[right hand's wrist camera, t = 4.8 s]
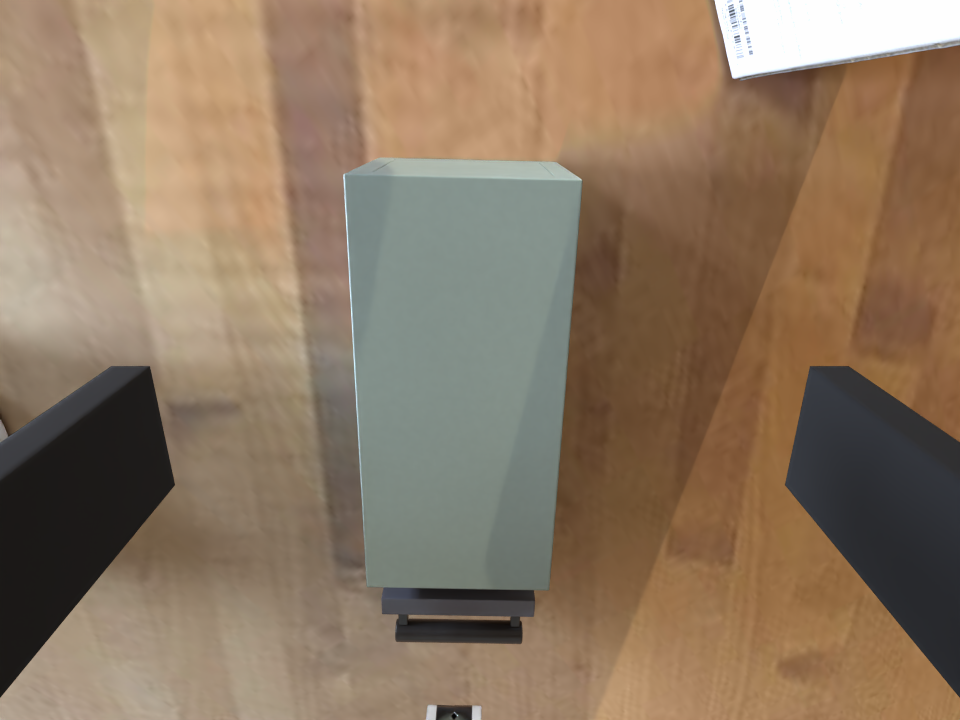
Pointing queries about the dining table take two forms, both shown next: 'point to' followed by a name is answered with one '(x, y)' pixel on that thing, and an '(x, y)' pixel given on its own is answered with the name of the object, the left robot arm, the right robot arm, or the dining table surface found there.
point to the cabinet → (460, 365)
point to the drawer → (458, 604)
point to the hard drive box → (830, 32)
